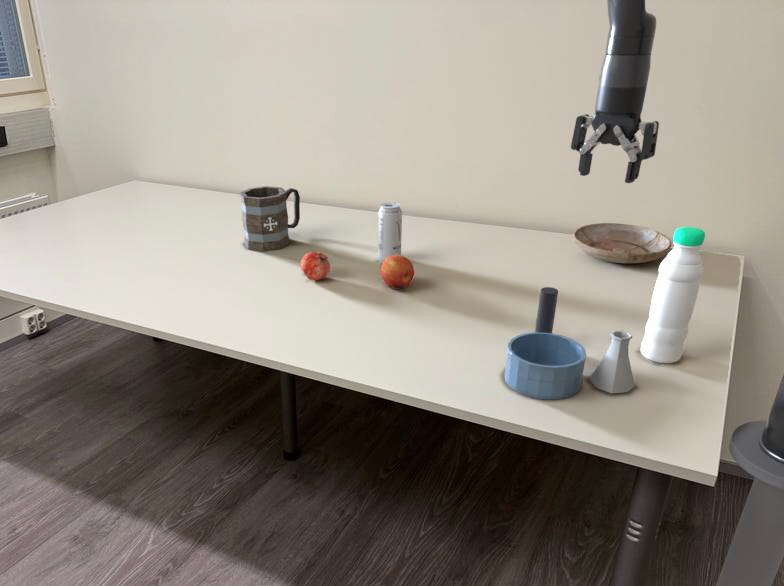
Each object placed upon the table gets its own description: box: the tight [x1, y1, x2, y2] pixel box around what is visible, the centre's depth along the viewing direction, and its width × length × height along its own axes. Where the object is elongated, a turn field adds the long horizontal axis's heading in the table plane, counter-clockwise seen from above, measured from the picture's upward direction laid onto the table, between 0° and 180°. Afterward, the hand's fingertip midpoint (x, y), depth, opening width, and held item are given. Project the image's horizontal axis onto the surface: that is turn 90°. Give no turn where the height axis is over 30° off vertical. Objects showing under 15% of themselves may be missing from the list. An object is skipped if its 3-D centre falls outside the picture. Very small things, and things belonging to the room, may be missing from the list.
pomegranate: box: [300, 250, 331, 281], centre depth 168 cm, size 7×7×10 cm
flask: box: [588, 330, 636, 394], centre depth 117 cm, size 7×7×10 cm
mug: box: [239, 185, 301, 252], centre depth 194 cm, size 20×14×15 cm
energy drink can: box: [377, 202, 403, 263], centre depth 175 cm, size 6×6×15 cm
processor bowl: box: [503, 331, 587, 400], centre depth 120 cm, size 13×13×6 cm
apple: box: [379, 254, 415, 290], centre depth 161 cm, size 8×8×8 cm
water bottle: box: [640, 226, 706, 364], centre depth 122 cm, size 7×7×25 cm
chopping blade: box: [520, 286, 559, 335], centre depth 131 cm, size 8×8×12 cm
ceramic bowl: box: [572, 222, 672, 264], centre depth 173 cm, size 23×24×5 cm
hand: (606, 178), depth 121 cm, fingers open, 8 cm apart
